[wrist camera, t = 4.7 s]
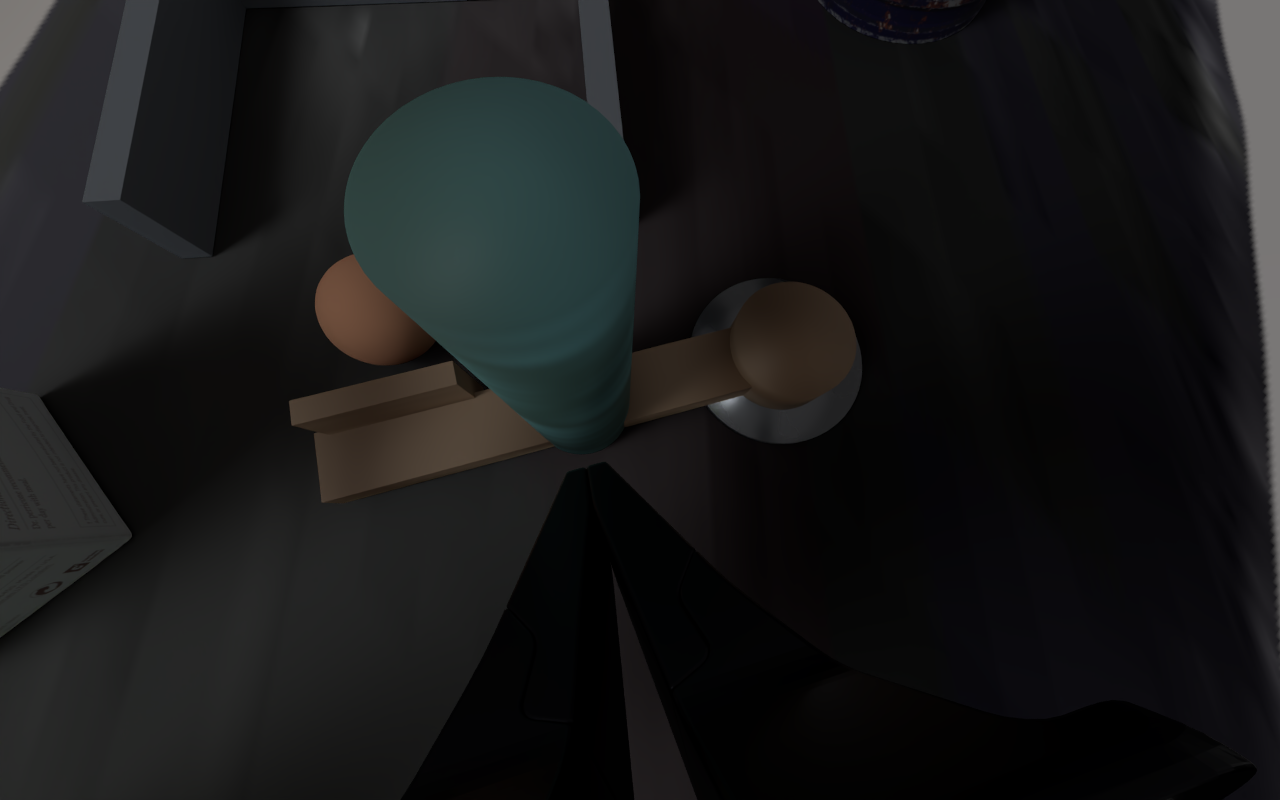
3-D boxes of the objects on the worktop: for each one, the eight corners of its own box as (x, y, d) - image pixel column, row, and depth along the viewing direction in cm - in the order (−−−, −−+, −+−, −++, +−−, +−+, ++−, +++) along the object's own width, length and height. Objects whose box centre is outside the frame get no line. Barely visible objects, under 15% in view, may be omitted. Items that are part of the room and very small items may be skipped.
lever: (807, 295, 19) (1115, -63, 7) (846, 394, 18) (1280, 170, 6) (336, 414, 17) (-323, 198, 5) (351, 531, 16) (-416, 593, 4)
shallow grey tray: (626, 229, 20) (626, 169, 16) (181, 258, 18) (82, 201, 15) (599, -23, 23) (595, -115, 20) (222, -10, 22) (149, -105, 18)
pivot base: (822, 265, 19) (825, 261, 19) (884, 418, 18) (889, 416, 18) (667, 303, 19) (668, 299, 18) (719, 465, 17) (720, 464, 17)
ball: (414, 398, 17) (354, 366, 14) (336, 342, 18) (257, 296, 14) (480, 320, 18) (441, 269, 14) (404, 268, 19) (346, 205, 15)
